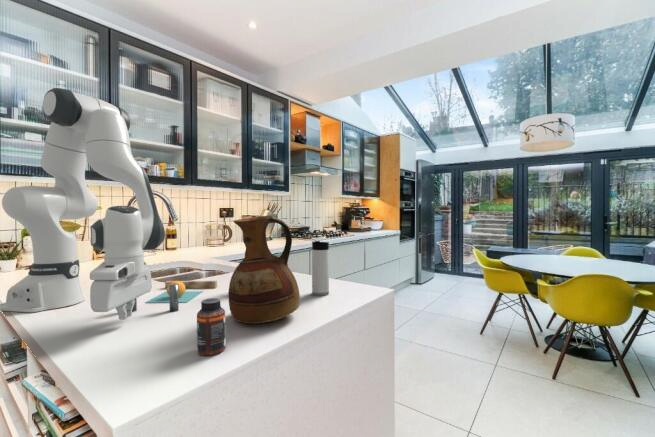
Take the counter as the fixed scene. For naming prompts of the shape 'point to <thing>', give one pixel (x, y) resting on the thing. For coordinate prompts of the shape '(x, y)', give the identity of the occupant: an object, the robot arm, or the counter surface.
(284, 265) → the ceramic pitcher
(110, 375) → the counter surface
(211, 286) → the stopper wall
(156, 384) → the counter surface
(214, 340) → the supplement bottle
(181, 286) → the ball
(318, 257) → the travel mug
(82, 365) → the counter surface
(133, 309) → the left post
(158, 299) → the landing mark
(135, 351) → the counter surface
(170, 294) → the right post
